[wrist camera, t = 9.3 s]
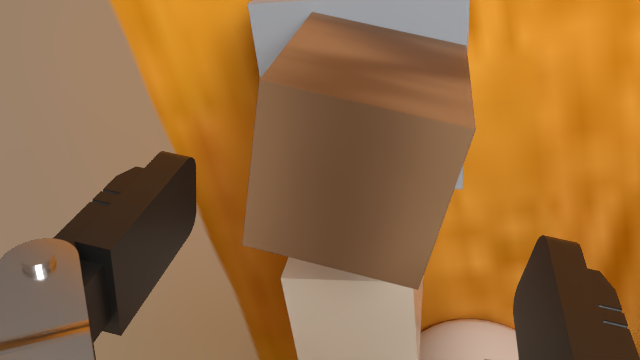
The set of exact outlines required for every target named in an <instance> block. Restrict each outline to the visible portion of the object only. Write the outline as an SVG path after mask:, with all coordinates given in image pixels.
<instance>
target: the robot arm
mask: <svg viewBox="0 0 640 360" xmlns="http://www.w3.org/2000/svg"><path fill="white" fill-rule="evenodd" d="M195 217H196V164H195V160H194V159H193V158H192V157H187V156H183V155H178V154H173V153H169V152H164V151H162V152H160V153H159V154H158V155H157V156H156V157H155V158H154V159H153V160H152V161H151V162H150V163H149V164H148V165H147V166H146V167H145V168H140V167H134V168H132V169H130V170H128V171H126V172H124V173H122V174H120V175H118V176H116V177H115V178H114V179H113V180H112V181H111V182H110V183H109V184H108V185H107V186H106V187H105V188H104V189H103V192H102V191H101V192H100V193H99V194H98V195H97V196H96V197H95V198H94V199H93V201H92V202H89V203H88V204H87V205H86V207H84V208H83V209H82V210H81V211H80V212H79V213H78V214H77V215H76V216H75V217H74V218H73V219H72V220H71V221H70V222H69V223H68V224H67V225H66V226H65V227H64V228H63V229H62V230H61V231H60V232H59V233H58V234H57V235H56V236H55V237H54V238H43V239H36V240H31V241H28V242H25V243H22V244H20V245H18V246H16V247H14V248H12V249H11V250H9V251H8V252H7V253H6V254H5V255H4V256H3V257H2V258H1V259H0V360H96V357H95V351H94V345H93V343H94V341H95V340H96V338H97V337H98V336H99V334H100V333H101V332H102V331H105V332H109V333H112V334H116V335H120V336H121V335H122V333H123V332H124V330H125V329H126V328H127V326H128V325H129V323H130V322H131V320H132V319H133V317H134V316H135V314H136V313H137V311H138V310H139V308H140V307H141V305H142V304H143V303H144V301H145V300H146V298H147V297H148V295H149V294H150V292H151V291H152V289H153V288H154V286H155V285H156V283H157V282H158V281H159V279H160V278H161V276H162V275H163V273H164V272H165V270H166V269H167V267H168V266H169V264H170V263H171V261H172V260H173V259H174V257H175V255H176V254H177V253H178V251H179V250H180V248H181V247H182V245H183V244H184V242H185V241H186V239H187V238H188V236H189V235H190V233H191V231H192V228H193V225H194V222H195ZM513 315H514V323H515V332H516V340H517V348H518V357H519V360H640V358H639V356H638V353H637V350H636V347H635V344H634V341H633V339H632V336H631V333H630V330H629V329H627V326H628V324H627V322H626V319H625V316H624V313H622V308H621V305H620V302H619V299H618V296H617V293H616V291H615V289H614V288H613V287H612V286H611V284H610V283H609V282H608V281H607V280H606V278H605V277H604V276H603V275H602V274H601V273H600V271H596V270H592V269H587V266H586V263H585V260H584V257H583V253H582V250H581V247H580V245H579V244H578V243H576V242H571V241H567V240H562V239H558V238H553V237H548V236H544V235H542V236H541V237H540V238H539V239H538V241H537V243H536V245H535V247H534V249H533V252H532V254H531V256H530V259H529V261H528V263H527V265H526V268H525V270H524V272H523V275H522V277H521V279H520V281H519V284H518V286H517V289H516V293H515V297H514V305H513Z"/></svg>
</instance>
